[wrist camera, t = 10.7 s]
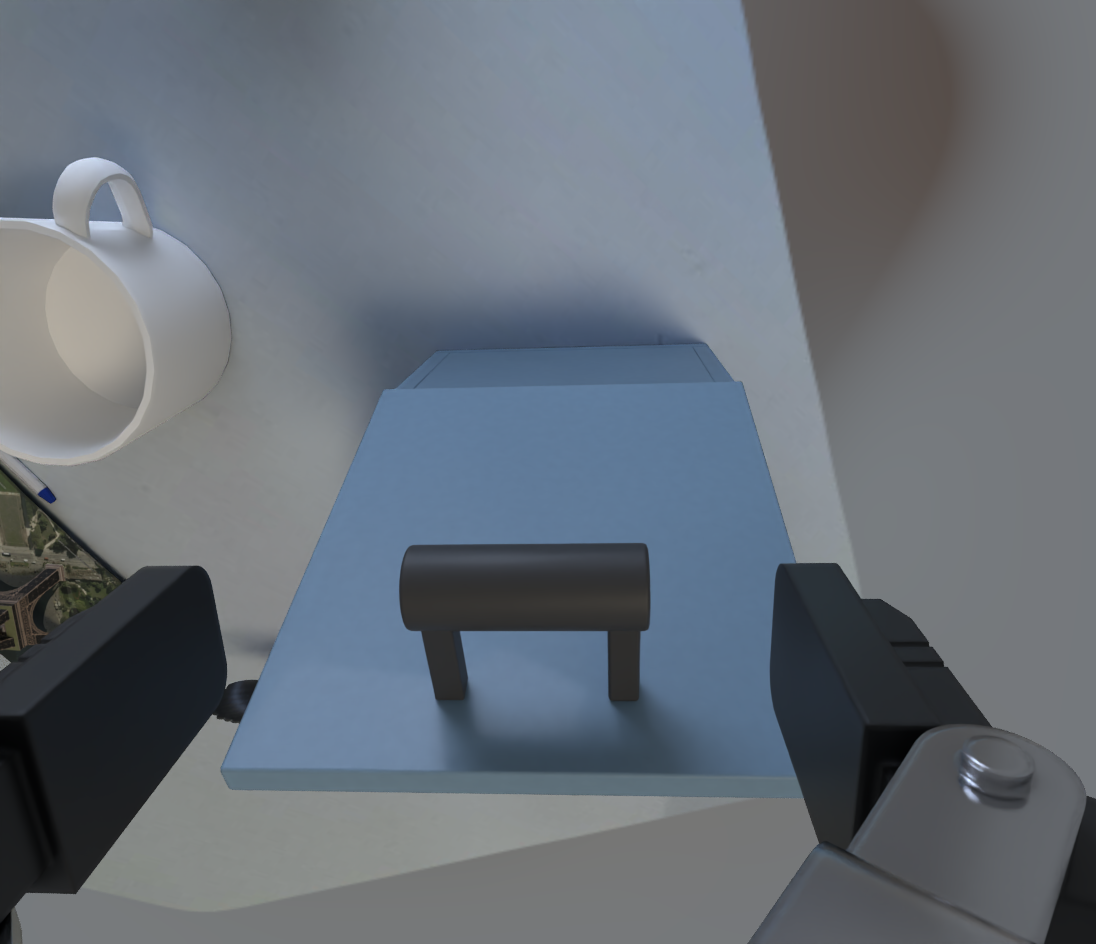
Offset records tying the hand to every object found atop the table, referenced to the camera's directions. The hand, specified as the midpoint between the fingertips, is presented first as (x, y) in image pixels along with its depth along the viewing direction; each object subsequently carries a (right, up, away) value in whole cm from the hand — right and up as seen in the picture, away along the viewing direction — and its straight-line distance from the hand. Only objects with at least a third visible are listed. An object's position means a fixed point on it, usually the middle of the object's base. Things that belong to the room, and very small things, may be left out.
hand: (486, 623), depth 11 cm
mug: (-20, +11, +29) cm, 37 cm away
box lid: (+1, 0, +13) cm, 13 cm away
